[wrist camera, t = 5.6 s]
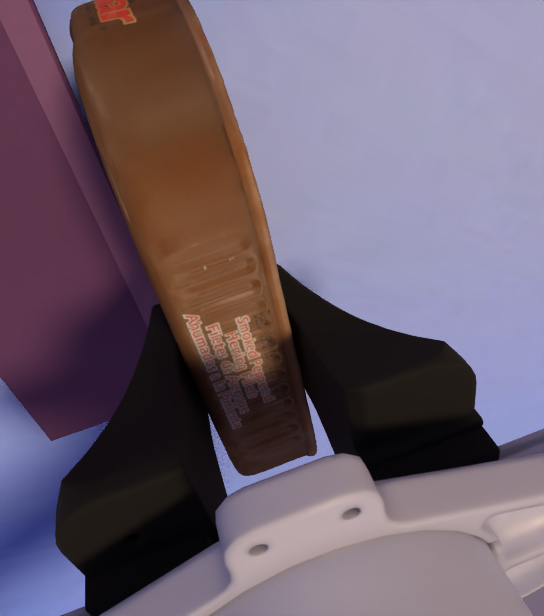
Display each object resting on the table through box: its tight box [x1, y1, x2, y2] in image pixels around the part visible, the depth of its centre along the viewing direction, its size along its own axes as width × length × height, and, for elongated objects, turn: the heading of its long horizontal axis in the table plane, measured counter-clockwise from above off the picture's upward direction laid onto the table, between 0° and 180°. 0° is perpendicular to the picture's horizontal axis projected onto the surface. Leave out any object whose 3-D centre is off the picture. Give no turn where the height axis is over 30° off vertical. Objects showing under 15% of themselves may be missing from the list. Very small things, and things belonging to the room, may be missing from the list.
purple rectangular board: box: [0, 0, 159, 441], centre depth 21 cm, size 8×20×1 cm, turn 12°
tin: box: [69, 0, 317, 476], centre depth 15 cm, size 15×3×8 cm, turn 11°
